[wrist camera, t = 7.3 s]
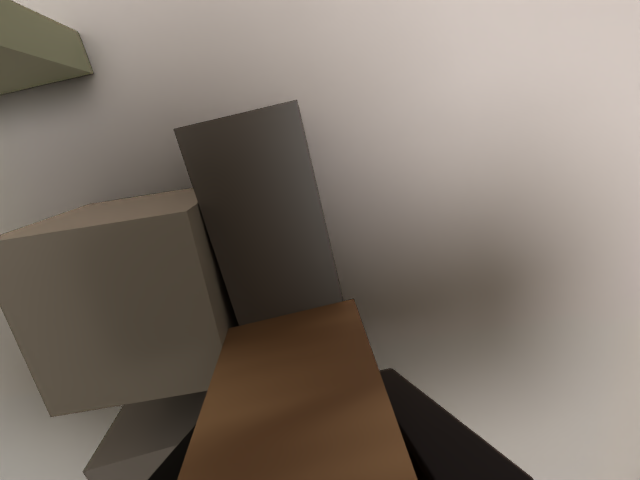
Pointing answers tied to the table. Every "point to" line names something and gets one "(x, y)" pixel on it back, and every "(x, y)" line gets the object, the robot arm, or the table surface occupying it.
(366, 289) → the table surface
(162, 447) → the stone block
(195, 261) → the stone block
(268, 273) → the hoe
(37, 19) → the bin
